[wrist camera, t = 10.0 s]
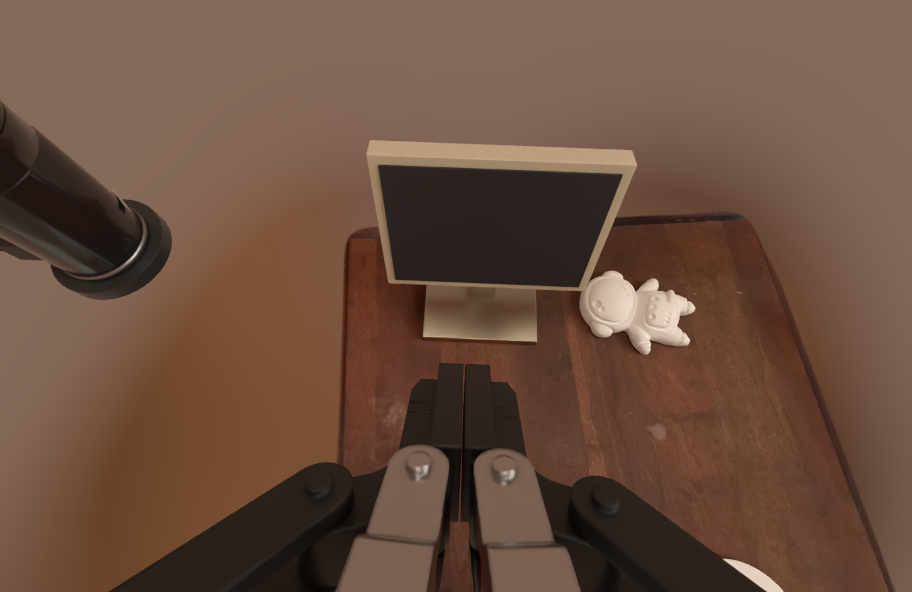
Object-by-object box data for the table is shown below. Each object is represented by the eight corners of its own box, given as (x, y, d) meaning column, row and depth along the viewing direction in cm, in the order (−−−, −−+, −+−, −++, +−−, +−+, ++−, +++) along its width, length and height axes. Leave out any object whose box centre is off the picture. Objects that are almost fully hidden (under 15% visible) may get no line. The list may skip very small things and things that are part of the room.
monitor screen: (585, 292, 38) (638, 166, 27) (388, 284, 38) (365, 156, 27) (582, 277, 39) (632, 149, 28) (390, 269, 39) (369, 139, 28)
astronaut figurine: (678, 370, 46) (692, 363, 43) (568, 326, 47) (576, 316, 45) (695, 299, 49) (710, 288, 46) (592, 260, 50) (600, 247, 48)
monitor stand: (535, 345, 47) (561, 303, 35) (423, 340, 47) (413, 297, 35) (533, 269, 50) (556, 209, 39) (428, 265, 50) (421, 203, 39)
